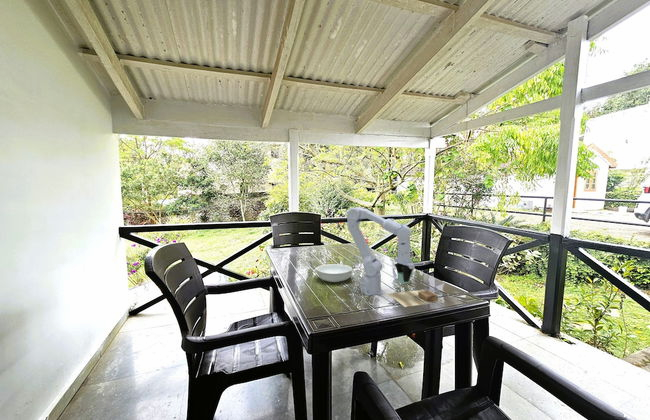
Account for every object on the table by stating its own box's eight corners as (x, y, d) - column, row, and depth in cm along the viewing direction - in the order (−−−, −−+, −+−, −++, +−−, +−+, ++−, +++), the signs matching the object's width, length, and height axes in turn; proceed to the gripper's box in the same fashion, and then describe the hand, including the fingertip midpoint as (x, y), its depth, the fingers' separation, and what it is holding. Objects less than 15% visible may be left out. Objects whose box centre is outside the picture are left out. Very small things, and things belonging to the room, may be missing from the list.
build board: (404, 308, 118) (404, 306, 118) (387, 294, 134) (387, 293, 134) (444, 302, 123) (444, 301, 123) (422, 290, 139) (422, 289, 139)
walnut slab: (426, 301, 123) (426, 296, 123) (418, 297, 129) (418, 291, 129) (437, 300, 125) (437, 295, 125) (429, 295, 130) (429, 290, 130)
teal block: (402, 283, 127) (402, 275, 127) (398, 281, 131) (398, 272, 131) (409, 282, 128) (410, 274, 128) (405, 280, 132) (405, 272, 132)
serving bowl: (357, 277, 162) (357, 265, 162) (343, 288, 144) (343, 275, 143) (326, 272, 172) (326, 261, 172) (309, 282, 154) (309, 270, 153)
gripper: (420, 254, 123) (420, 283, 124) (403, 248, 137) (403, 274, 138) (406, 255, 121) (406, 285, 122) (390, 249, 135) (390, 276, 136)
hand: (403, 279), depth 130 cm, fingers closed on teal block, 4 cm apart
